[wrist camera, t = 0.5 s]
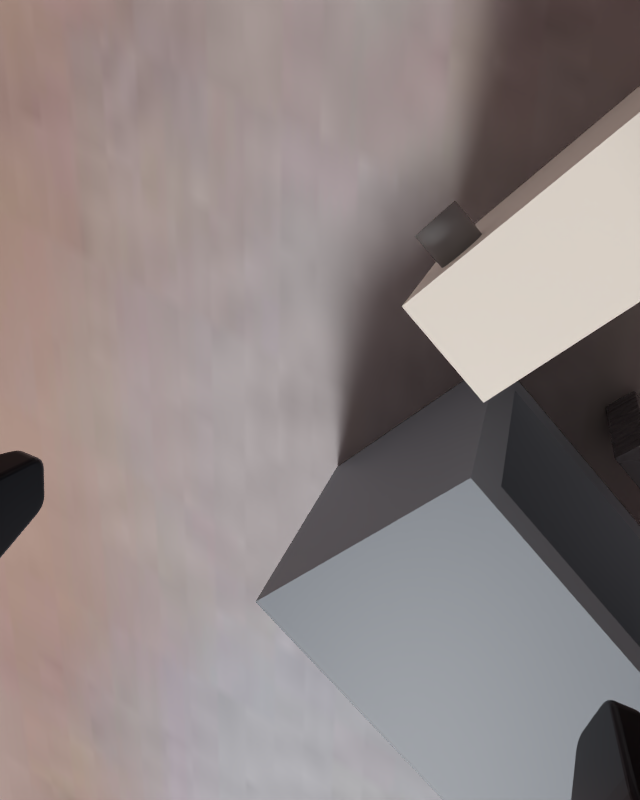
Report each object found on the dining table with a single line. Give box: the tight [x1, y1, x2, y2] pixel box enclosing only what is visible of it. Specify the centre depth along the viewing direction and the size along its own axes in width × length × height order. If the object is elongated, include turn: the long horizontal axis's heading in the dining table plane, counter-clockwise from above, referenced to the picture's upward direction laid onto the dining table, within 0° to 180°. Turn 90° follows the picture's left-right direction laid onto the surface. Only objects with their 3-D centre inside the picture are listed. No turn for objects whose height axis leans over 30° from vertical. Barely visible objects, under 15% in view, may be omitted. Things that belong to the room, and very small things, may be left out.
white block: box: [402, 86, 640, 403], centre depth 15 cm, size 10×4×7 cm, turn 136°
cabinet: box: [256, 380, 640, 800], centre depth 20 cm, size 16×8×8 cm, turn 46°
